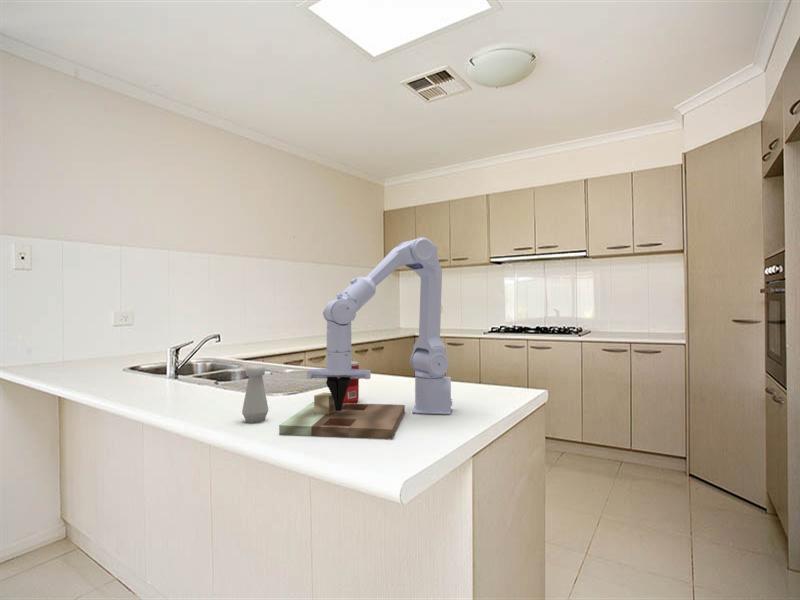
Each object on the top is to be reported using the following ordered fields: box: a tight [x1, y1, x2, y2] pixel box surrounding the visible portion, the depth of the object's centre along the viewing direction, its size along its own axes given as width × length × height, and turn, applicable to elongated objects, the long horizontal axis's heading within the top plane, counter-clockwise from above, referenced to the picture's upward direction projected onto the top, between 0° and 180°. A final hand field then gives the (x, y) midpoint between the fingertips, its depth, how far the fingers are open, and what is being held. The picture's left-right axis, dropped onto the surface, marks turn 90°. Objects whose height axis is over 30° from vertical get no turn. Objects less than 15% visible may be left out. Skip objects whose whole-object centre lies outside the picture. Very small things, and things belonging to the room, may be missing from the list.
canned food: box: [330, 360, 360, 403], centre depth 125 cm, size 8×8×11 cm
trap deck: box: [278, 401, 406, 440], centre depth 103 cm, size 24×22×2 cm
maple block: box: [313, 392, 335, 414], centre depth 106 cm, size 4×4×4 cm
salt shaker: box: [241, 364, 269, 424], centre depth 105 cm, size 6×6×13 cm
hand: (338, 409), depth 104 cm, fingers closed
